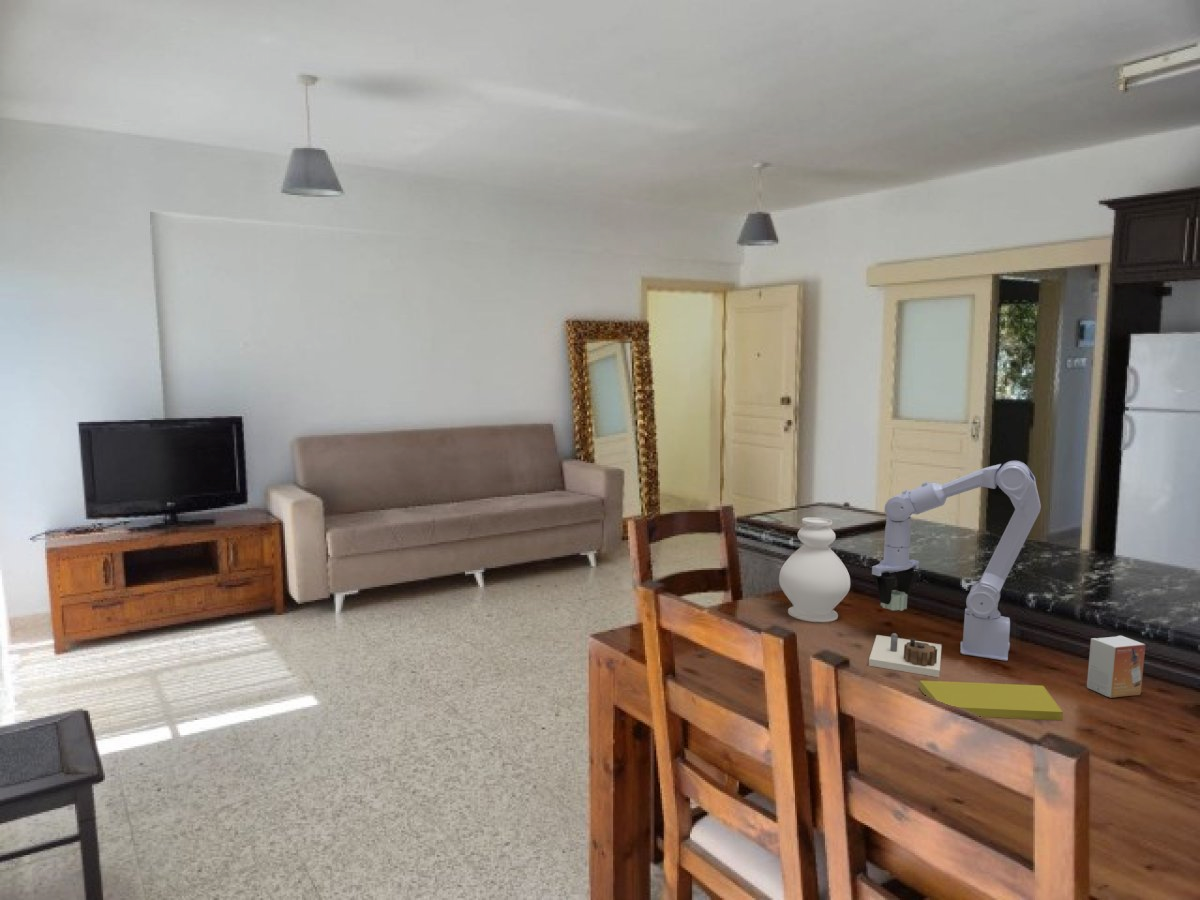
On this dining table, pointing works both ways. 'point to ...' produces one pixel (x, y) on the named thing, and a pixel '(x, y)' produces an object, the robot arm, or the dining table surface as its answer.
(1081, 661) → the dining table surface
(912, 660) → the drive gear
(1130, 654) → the small box
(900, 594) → the sage gear
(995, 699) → the flat olive board
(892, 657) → the gear board
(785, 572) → the decorative vase
